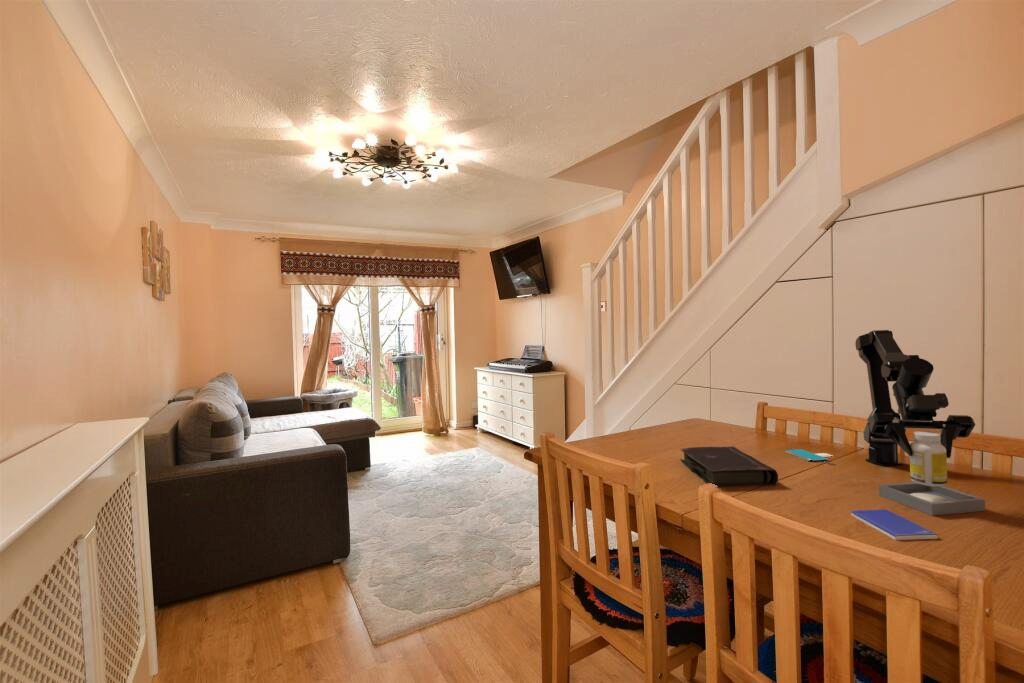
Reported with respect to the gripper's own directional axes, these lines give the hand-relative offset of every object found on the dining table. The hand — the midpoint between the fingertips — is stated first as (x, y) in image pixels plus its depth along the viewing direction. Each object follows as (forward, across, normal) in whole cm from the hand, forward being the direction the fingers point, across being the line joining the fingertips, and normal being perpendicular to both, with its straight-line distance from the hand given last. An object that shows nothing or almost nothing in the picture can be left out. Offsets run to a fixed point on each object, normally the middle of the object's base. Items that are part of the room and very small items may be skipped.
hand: (929, 456), depth 107 cm
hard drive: (+20, -12, -3) cm, 23 cm away
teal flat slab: (-18, -18, +36) cm, 44 cm away
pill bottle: (+4, 0, +6) cm, 7 cm away
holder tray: (+7, 0, +9) cm, 11 cm away
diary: (0, -44, +18) cm, 47 cm away
